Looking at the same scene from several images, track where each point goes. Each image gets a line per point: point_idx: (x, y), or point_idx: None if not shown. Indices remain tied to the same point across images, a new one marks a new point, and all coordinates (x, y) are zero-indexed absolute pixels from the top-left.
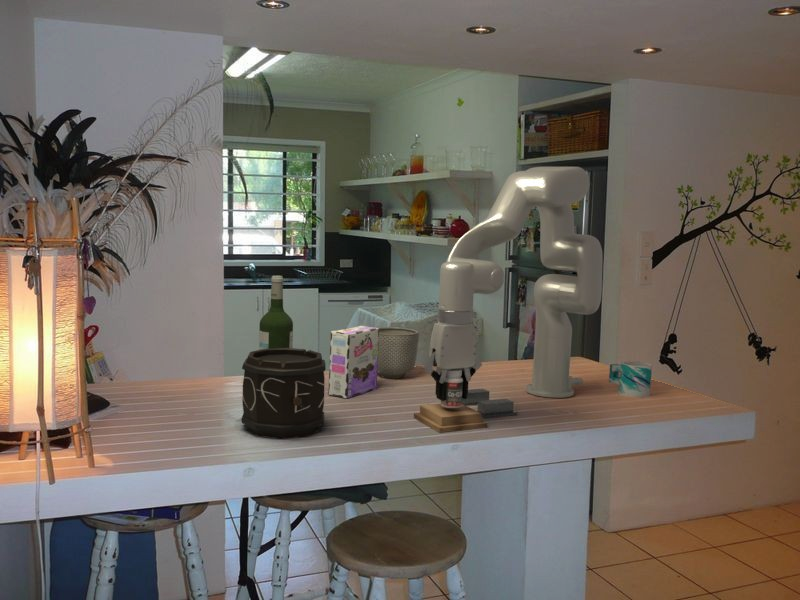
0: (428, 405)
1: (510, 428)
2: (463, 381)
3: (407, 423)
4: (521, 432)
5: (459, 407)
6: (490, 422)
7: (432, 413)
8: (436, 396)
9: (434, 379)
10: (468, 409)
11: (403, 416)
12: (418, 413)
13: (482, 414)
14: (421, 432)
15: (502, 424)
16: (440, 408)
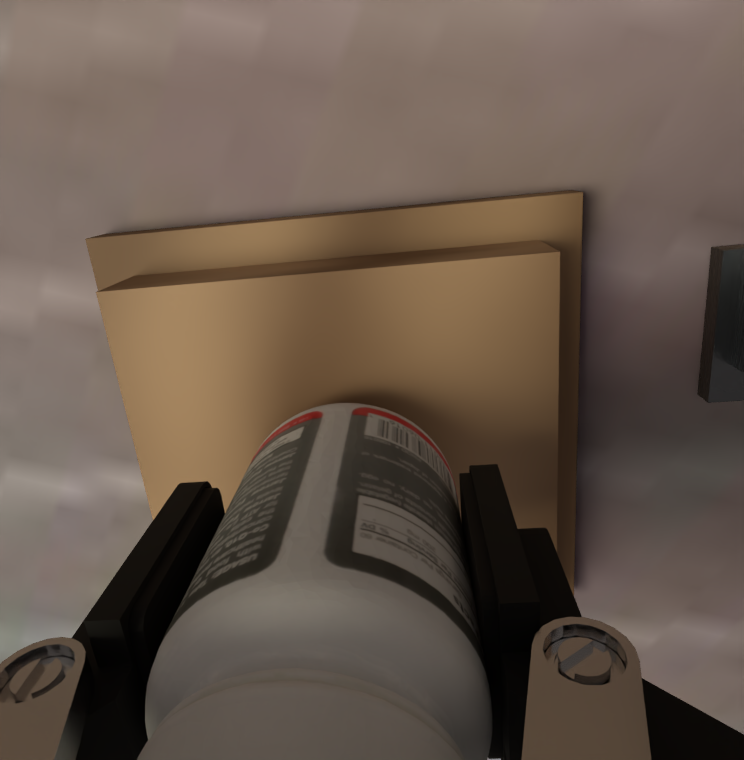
0: (183, 305)
1: (711, 638)
2: (498, 728)
3: (21, 369)
4: (720, 715)
5: (465, 439)
6: (670, 493)
7: (157, 512)
8: (180, 486)
9: (9, 679)
10: (513, 514)
11: (23, 167)
12: (128, 249)
13: (714, 360)
14: (77, 572)
15: (723, 554)
16: (265, 432)
